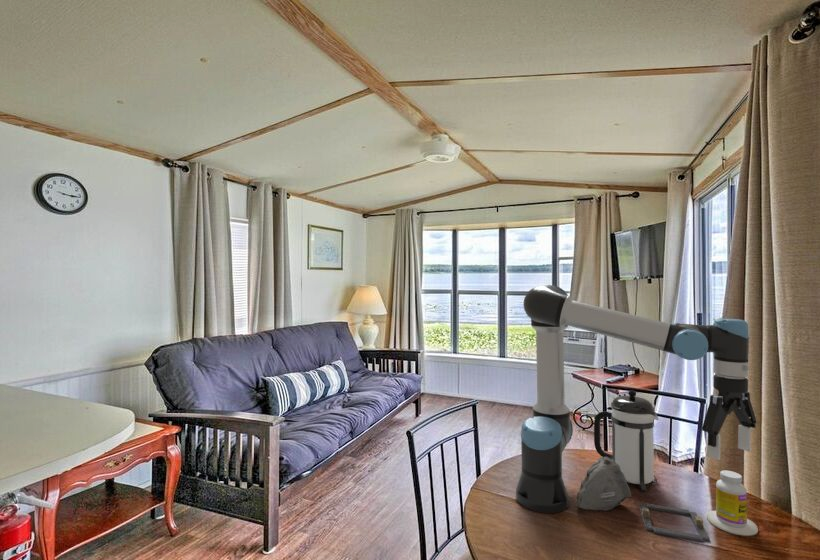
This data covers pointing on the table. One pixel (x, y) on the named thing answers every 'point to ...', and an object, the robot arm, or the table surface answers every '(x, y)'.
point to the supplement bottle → (731, 499)
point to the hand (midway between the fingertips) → (729, 453)
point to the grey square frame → (696, 520)
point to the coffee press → (631, 438)
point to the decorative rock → (603, 486)
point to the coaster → (743, 531)
